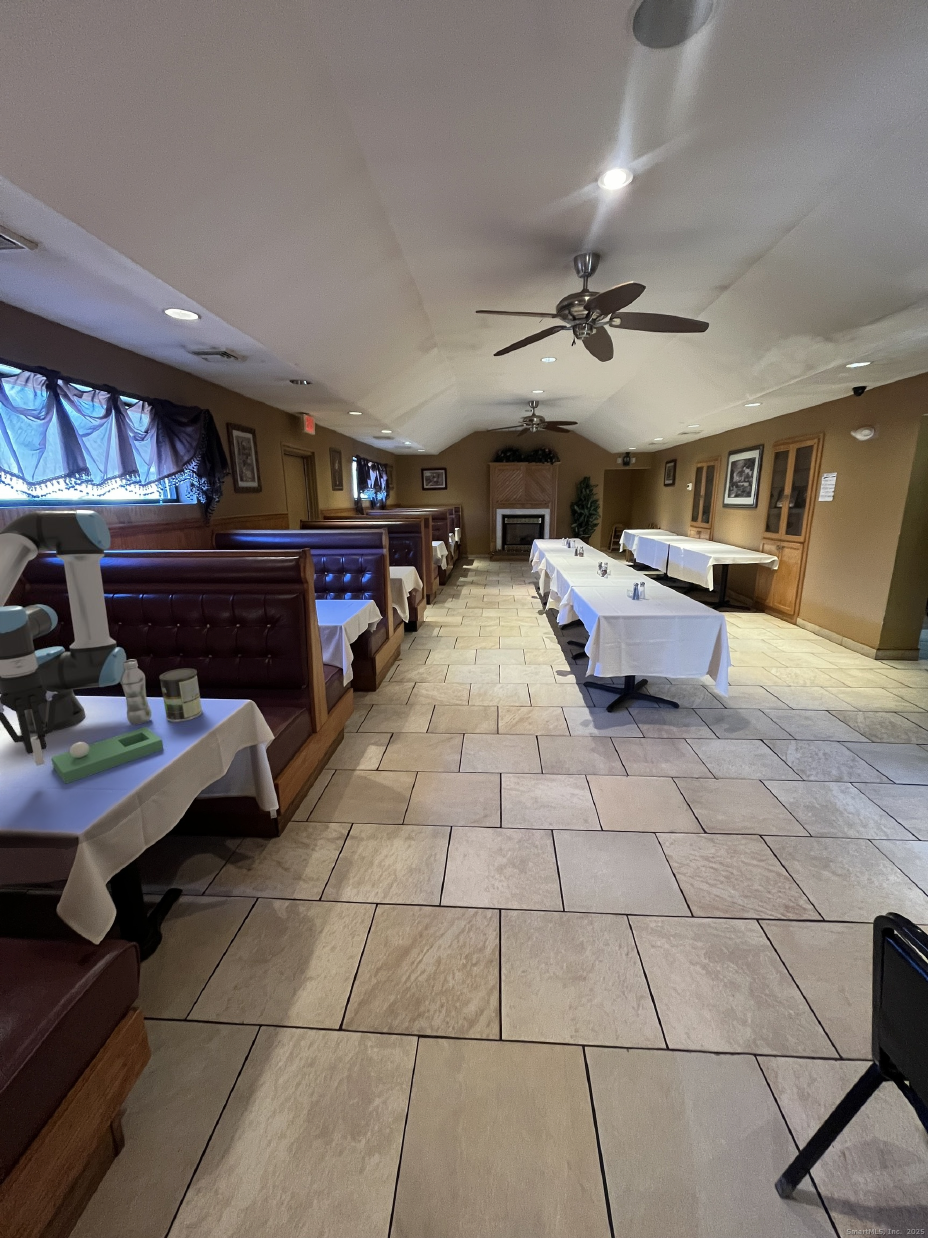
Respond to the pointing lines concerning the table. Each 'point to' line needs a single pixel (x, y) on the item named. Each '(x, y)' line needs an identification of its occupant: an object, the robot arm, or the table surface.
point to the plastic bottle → (135, 693)
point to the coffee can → (181, 694)
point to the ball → (79, 749)
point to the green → (107, 754)
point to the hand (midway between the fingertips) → (39, 763)
